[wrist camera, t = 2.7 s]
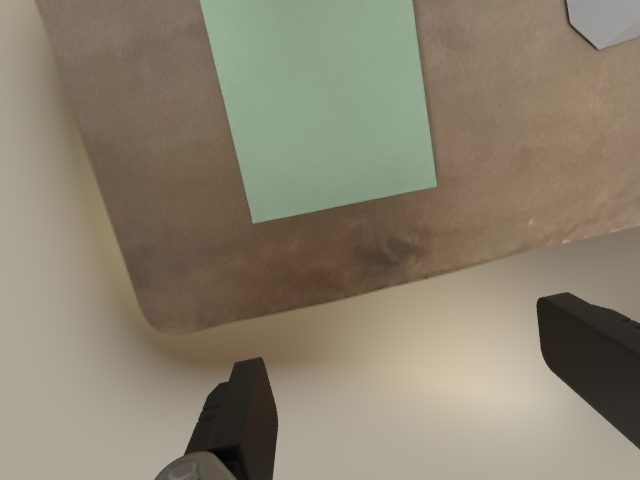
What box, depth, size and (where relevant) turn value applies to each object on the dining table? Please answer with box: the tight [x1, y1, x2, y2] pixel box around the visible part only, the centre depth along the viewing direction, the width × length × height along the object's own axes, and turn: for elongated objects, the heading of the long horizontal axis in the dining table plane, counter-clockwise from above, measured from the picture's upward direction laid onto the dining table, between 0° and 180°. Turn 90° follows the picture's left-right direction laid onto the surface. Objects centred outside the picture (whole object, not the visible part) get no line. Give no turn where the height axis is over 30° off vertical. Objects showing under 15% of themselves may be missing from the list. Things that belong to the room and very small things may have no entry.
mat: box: [200, 0, 437, 224], centre depth 28 cm, size 22×14×1 cm, turn 11°
